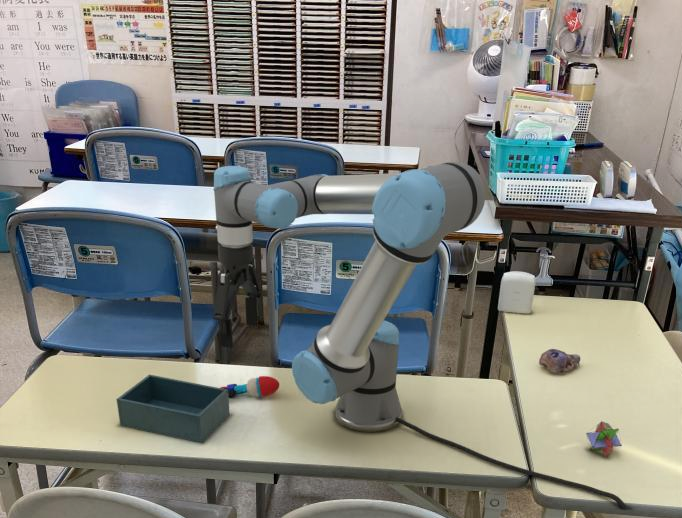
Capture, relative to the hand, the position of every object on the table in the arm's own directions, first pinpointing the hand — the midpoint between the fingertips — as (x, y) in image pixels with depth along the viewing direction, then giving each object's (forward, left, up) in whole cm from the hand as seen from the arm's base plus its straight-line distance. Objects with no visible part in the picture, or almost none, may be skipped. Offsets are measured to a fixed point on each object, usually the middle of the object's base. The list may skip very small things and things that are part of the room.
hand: (239, 335), depth 176 cm
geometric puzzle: (-83, -6, -16) cm, 85 cm away
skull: (-70, -46, -16) cm, 85 cm away
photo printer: (-52, -83, -16) cm, 99 cm away
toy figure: (-1, -1, -16) cm, 16 cm away
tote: (+9, +16, -16) cm, 24 cm away
